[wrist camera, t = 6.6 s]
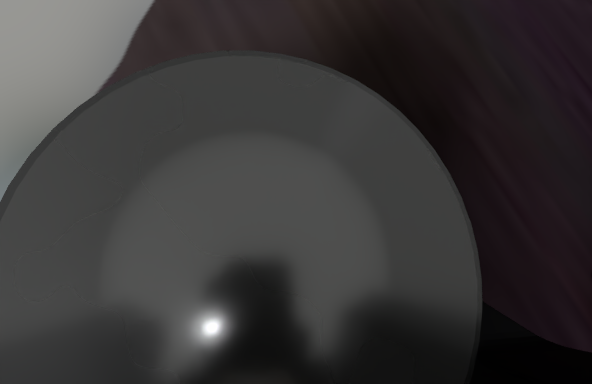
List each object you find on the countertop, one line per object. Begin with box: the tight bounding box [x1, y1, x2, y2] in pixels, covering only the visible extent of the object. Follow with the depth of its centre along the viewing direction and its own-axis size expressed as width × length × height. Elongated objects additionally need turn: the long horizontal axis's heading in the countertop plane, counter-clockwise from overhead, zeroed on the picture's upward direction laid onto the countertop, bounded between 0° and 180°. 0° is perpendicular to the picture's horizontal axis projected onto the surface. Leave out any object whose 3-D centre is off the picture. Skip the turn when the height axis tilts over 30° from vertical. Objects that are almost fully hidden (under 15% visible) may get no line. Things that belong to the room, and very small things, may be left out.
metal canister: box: [0, 51, 482, 384], centre depth 9 cm, size 6×6×12 cm
